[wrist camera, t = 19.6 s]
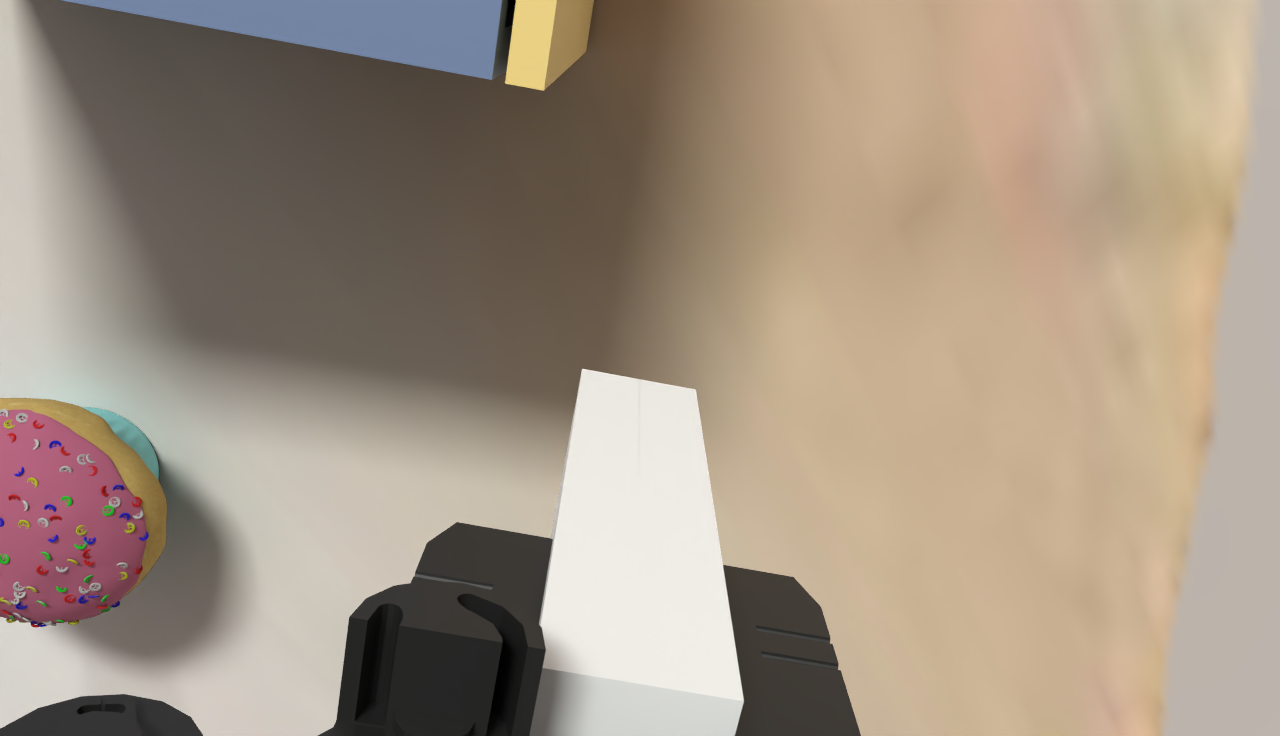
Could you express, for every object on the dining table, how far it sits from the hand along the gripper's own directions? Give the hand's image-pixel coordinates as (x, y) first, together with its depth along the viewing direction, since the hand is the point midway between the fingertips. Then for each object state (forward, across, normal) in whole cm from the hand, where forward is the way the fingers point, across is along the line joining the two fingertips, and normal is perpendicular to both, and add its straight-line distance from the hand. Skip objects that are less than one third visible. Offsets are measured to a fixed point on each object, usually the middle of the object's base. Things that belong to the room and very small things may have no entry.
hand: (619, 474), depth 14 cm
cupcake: (+25, +18, +14) cm, 35 cm away
